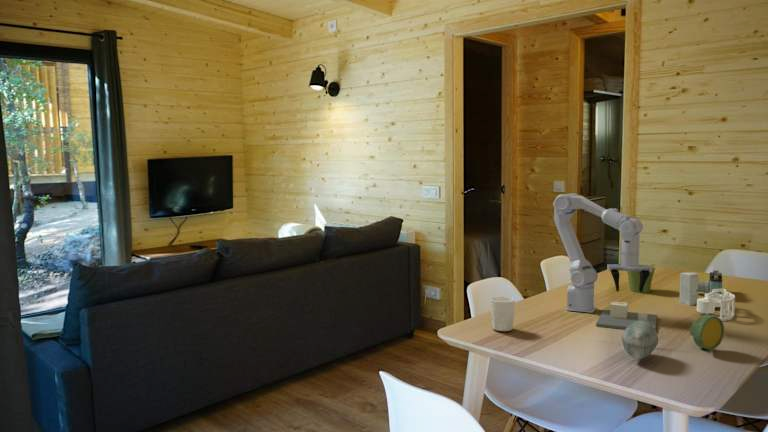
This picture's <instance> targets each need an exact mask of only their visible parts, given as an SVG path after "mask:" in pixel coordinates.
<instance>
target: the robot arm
mask: <svg viewBox="0 0 768 432" xmlns="http://www.w3.org/2000/svg"><path fill="white" fill-rule="evenodd" d="M552 207H553V208H554V209H553V211H554V212H553V222H554V224H555V226H556V229H557V231H558V234H559V236H560V239H561V241H562V244H563V246H564V249H565V252H566V255H567V257H568V259H569V261H570V265H569V270H568V271H569V273H570V281H571V283H572V284H573V285H572V284H571V285H568V287H567V291H566V296H567V297H566V311H570V312H581V313H590V314H591V313H592V314H593V313H594V312H595V311H596V309H597V307H596V306H595V282H597V280H598V273H597V270H596V269H595V268H594V267H593V265H592V263H591V262H589V260H587V259H586V257H585V254H584V253H583V252H584V251H583V250H582V248H581V247H582V246H581V244H580V242H579V240H578V237H577V235H576V232H575V229H574V227H573V225H572V223H571V219H572V217H573V215H574V214H575V212H576V211H577V210H584V211H585V212H588V213H590V214H593V215H595V216H596V217H599V218H600V219H601V220H602V223H604V224H606V225H608V226H610V227H612V228H614V230H615V229H616V230H618V231H619V233H620V234H621V255H620V256H621V258H620V263H615V264H614V263H612V264H609V263H607V266H606V267H607V271H609V272H610V274H611V277H612V279H613V283H614V287H615V290H616V292H619V291H620V272H621V271H622V272H627V271H639V273H640V284H639V291H640V292H642V291H643V287H644V284H645V282H646V280H647V278H648V277H649V275H650V273H649V272H653V265H650V266H649V265H648V264H640V243H641V241H640V237H641V232H642V231H643V228H644V225H643V223H642V221H641V220H640V219H638V218H637V217H631V216H630V215H629V214H624V213H622V212H620V211H619V209H618V208H613V207H611V208H608V209H607V208H604V207H602V206H600V205H599V204H597V203H595V202H594V201H592V200H589V199H588V198H587V197H585V196H583V195H579V194H578V193H575V192H572V193H565V194H564V193H562V194H559V195H557V196H556V197H555V199H554V201H553V202H552Z"/></svg>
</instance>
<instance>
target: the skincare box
mask: <svg viewBox="0 0 768 432" xmlns="http://www.w3.org/2000/svg"><path fill="white" fill-rule="evenodd" d="M698 281H699V273H697V272H691V271H687V272H681V273H679V301H678V303H679V304H680V305H685V306H689V307H690V306H691V307H692V306H694V305H697V299H699V292H698Z"/></svg>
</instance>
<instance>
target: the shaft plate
mask: <svg viewBox="0 0 768 432" xmlns="http://www.w3.org/2000/svg"><path fill="white" fill-rule="evenodd" d="M610 310H611V309H602V311H601V314H600V315H599V317H598V319H597V321H596V323H595V324H596V325H595V327H599V328H607V329H608V328H609V329H616V330H618V329H619V330H623V331H625V329H626V328H627V327H628V326H629V325H630V324H632V323H634V322H636V321H645V322H648V323H650V324H651V325H652V326H653V327H654V329H655V330H656V328H657V321H658V314H654V313H653V314H652V313H645V312H633V311H628V315H627V318H626V319H625V318H615V317H610Z"/></svg>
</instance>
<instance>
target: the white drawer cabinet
mask: <svg viewBox="0 0 768 432" xmlns="http://www.w3.org/2000/svg"><path fill="white" fill-rule="evenodd" d="M628 306H629V302H628V301H627V302H625V301H623V302H622V301H615V300H614V301H613V300H612V301H611V302H610V309H609V310H610V317H615V318H625V319H626V318H627V315H628V312H629V307H628Z"/></svg>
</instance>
